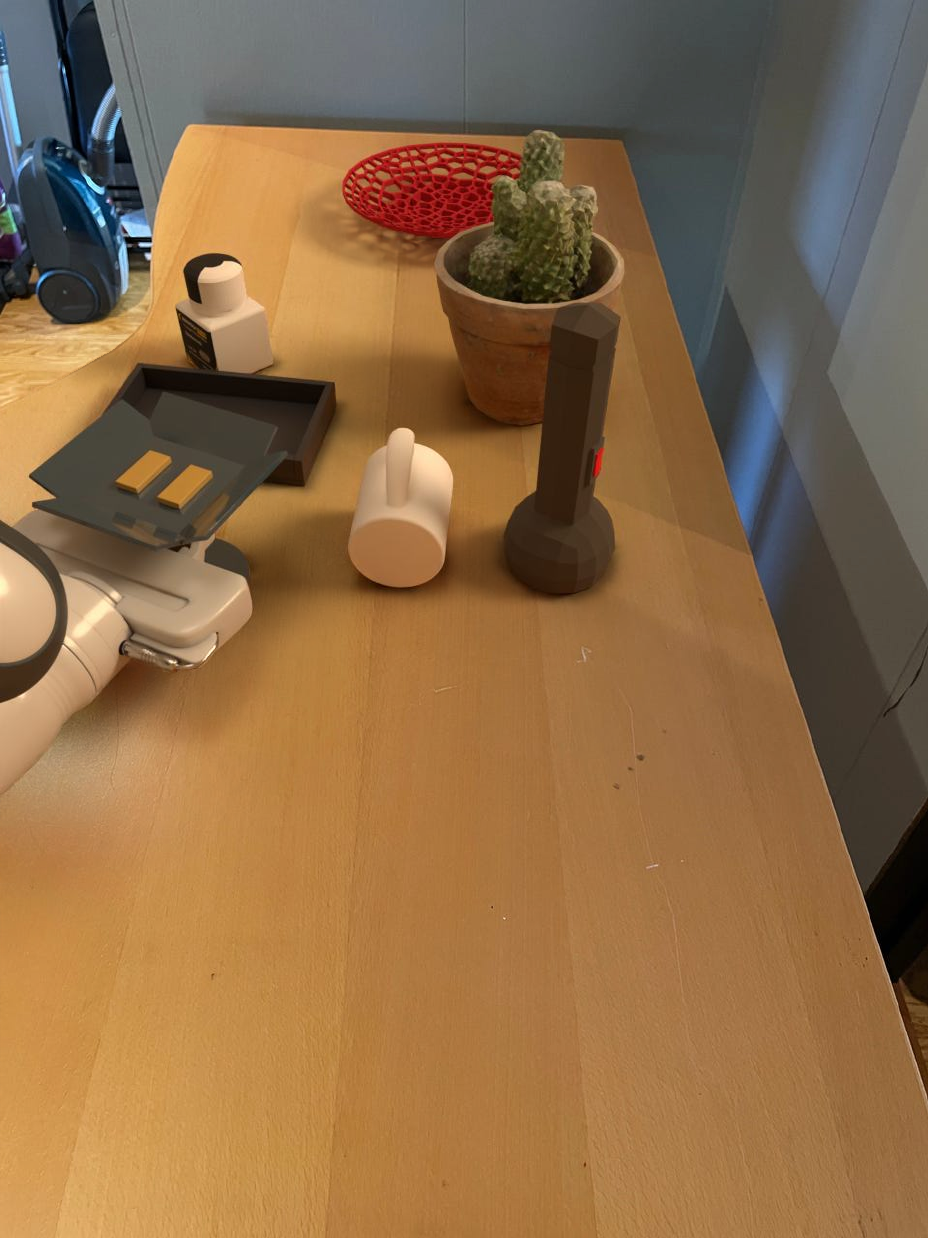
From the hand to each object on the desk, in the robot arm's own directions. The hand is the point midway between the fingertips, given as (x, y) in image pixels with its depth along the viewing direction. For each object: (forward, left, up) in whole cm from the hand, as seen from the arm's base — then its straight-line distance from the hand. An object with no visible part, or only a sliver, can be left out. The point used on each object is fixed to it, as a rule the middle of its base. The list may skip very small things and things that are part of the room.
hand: (183, 519), depth 77 cm
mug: (+17, +7, -7) cm, 20 cm away
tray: (-5, +21, -7) cm, 23 cm away
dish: (0, -1, -6) cm, 7 cm away
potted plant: (+25, +33, -7) cm, 42 cm away
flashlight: (+31, +8, -7) cm, 33 cm away
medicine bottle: (-8, +34, -7) cm, 36 cm away
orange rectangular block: (-2, 0, +5) cm, 5 cm away
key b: (+2, -1, +5) cm, 5 cm away
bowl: (+11, +74, -7) cm, 75 cm away
